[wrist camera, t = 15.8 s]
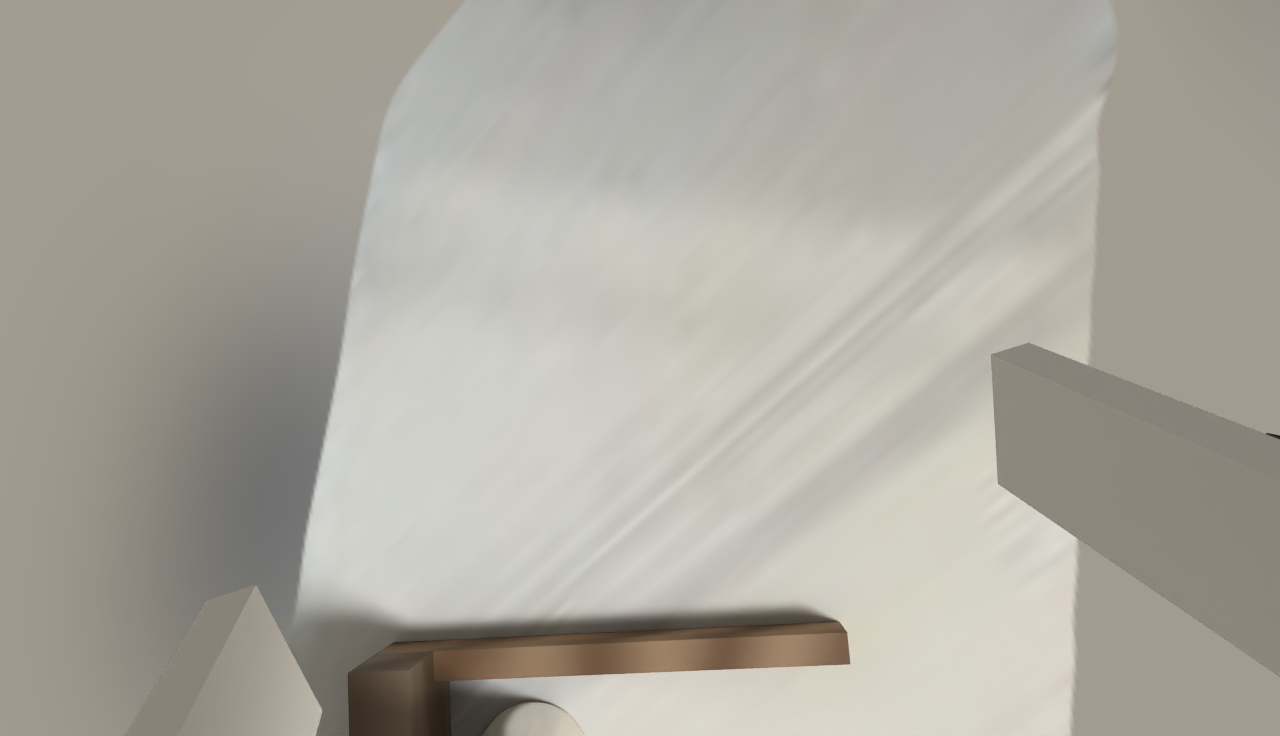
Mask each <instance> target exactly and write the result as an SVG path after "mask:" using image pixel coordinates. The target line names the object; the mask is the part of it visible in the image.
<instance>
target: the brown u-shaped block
mask: <svg viewBox="0 0 1280 736" xmlns="http://www.w3.org/2000/svg"><path fill="white" fill-rule="evenodd" d="M843 664H850V657H849V647H848V637H847V632H846V630H845V629H844V628H843V626H842V625H841V623H840V622H823V623H802V624H780V625H759V626H737V627H716V628H694V629H673V630H651V631H630V632H608V633H587V634H565V635H544V636H522V637H501V638H479V639H457V640H436V641H414V642H394V643H393V644H391V645H390V646H388V647H387V648H385V649H384V650H382V651H381V652H379V653H378V654H376V655H375V656H373V657H372V658H370V659H369V660H367V661H366V662H364V663H363V664H361V665H359V666H358V667H356V668H355V669H353V670H352V671H350V672H349V673H348V697H349V736H451V723H450V697H449V681H455V680H480V679H504V678H528V677H552V676H576V675H601V674H625V673H649V672H673V671H698V670H722V669H746V668H770V667H794V666H819V665H843Z"/></svg>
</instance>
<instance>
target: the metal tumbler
mask: <svg viewBox="0 0 1280 736" xmlns="http://www.w3.org/2000/svg"><path fill="white" fill-rule="evenodd" d="M483 736H585V735H584V733H583V731H582V729H581V728H580V726H579V725H578V724H577V723H576V721H575V720H574V719H573V718H572V717H571V716H570V715H568V714H567V713H566V712H565V711H563V710H562V709H560V708H558V707H556V706H553V705H551V704H547V703H543V702H525V703H520V704H517V705H514V706H512V707H510V708H508V709H506V710H505V711H503V712H502V713H501V714H499V715H498V716H497V717H496V718H495V719H494V720H493V721H492V722H491V724H490V725H489V727H488V728H487V730H486V731H485V733H484V735H483Z"/></svg>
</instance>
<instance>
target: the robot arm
mask: <svg viewBox="0 0 1280 736" xmlns="http://www.w3.org/2000/svg"><path fill="white" fill-rule="evenodd" d="M991 364H992V382H993V401H994V419H995V438H996V456H997V475H998V484H999V485H1000V486H1002V487H1003V488H1005V489H1006V490H1008V491H1009V492H1011V493H1012V494H1014V495H1015V496H1017V497H1018V498H1019V499H1021V500H1022V501H1024V502H1025V503H1027V504H1028V505H1030V506H1031V507H1033V508H1034V509H1035V510H1037V511H1038V512H1040V513H1041V514H1043V515H1044V516H1046V517H1047V518H1049V519H1050V520H1052V521H1053V522H1054V523H1056V524H1057V525H1059V526H1060V527H1062V528H1063V529H1065V530H1066V531H1068V532H1069V533H1071V534H1072V535H1073V536H1075V537H1076V538H1078V539H1079V540H1081V541H1082V542H1084V543H1085V544H1087V545H1088V546H1090V547H1091V548H1092V549H1094V550H1095V551H1097V552H1098V553H1100V554H1101V555H1103V556H1104V557H1106V558H1107V559H1108V560H1110V561H1111V562H1113V563H1114V564H1116V565H1117V566H1119V567H1120V568H1122V569H1123V570H1125V571H1126V572H1127V573H1129V574H1130V575H1132V576H1133V577H1135V578H1136V579H1138V580H1139V581H1141V582H1142V583H1144V584H1145V585H1146V586H1148V587H1149V588H1151V589H1153V590H1154V591H1155V592H1157V593H1158V594H1160V595H1161V596H1163V597H1164V598H1166V599H1167V600H1168V601H1170V602H1171V603H1173V604H1174V605H1176V606H1177V607H1179V608H1180V609H1182V610H1183V611H1184V612H1186V613H1187V614H1189V615H1190V616H1192V617H1193V618H1195V619H1196V620H1198V621H1199V622H1201V623H1202V624H1203V625H1205V626H1206V627H1208V628H1209V629H1211V630H1212V631H1214V632H1215V633H1217V634H1218V635H1219V636H1221V637H1222V638H1224V639H1225V640H1227V641H1228V642H1230V643H1231V644H1233V645H1234V646H1236V647H1237V648H1239V649H1240V650H1241V651H1243V652H1245V653H1246V654H1247V655H1249V656H1250V657H1252V658H1253V659H1255V660H1256V661H1257V662H1259V663H1260V664H1262V665H1263V666H1265V667H1266V668H1268V669H1269V670H1271V671H1272V672H1274V673H1275V674H1276V675H1278V676H1279V677H1280V436H1279V435H1274V434H1269V433H1267V434H1264V433H1262V432H1259V431H1256V430H1254V429H1251V428H1249V427H1246V426H1243V425H1241V424H1238V423H1236V422H1233V421H1230V420H1227V419H1225V418H1223V417H1220V416H1217V415H1215V414H1212V413H1210V412H1207V411H1204V410H1202V409H1199V408H1197V407H1194V406H1191V405H1189V404H1186V403H1184V402H1181V401H1178V400H1176V399H1173V398H1171V397H1168V396H1165V395H1163V394H1160V393H1158V392H1155V391H1152V390H1150V389H1147V388H1145V387H1142V386H1139V385H1137V384H1134V383H1132V382H1129V381H1126V380H1124V379H1121V378H1119V377H1116V376H1113V375H1111V374H1108V373H1106V372H1103V371H1100V370H1098V369H1095V368H1093V367H1090V366H1087V365H1085V364H1082V363H1080V362H1077V361H1075V360H1072V359H1069V358H1067V357H1064V356H1062V355H1059V354H1056V353H1054V352H1051V351H1049V350H1046V349H1043V348H1041V347H1038V346H1036V345H1033V344H1030V343H1027V344H1023V345H1020V346H1017V347H1014V348H1011V349H1007V350H1004V351H1001V352H998V353H995V354H991ZM322 712H323V711H322V709H321V707H320V705H319V703H318V701H317V699H316V697H315V696H314V694H313V692H312V690H311V688H310V686H309V684H308V682H307V680H306V679H305V677H304V675H303V673H302V671H301V669H300V667H299V665H298V663H297V662H296V660H295V658H294V656H293V654H292V652H291V650H290V648H289V646H288V645H287V643H286V641H285V639H284V637H283V635H282V633H281V631H280V630H279V628H278V626H277V624H276V622H275V620H274V618H273V616H272V614H271V612H270V611H269V609H268V607H267V605H266V603H265V601H264V599H263V597H262V595H261V594H260V592H259V590H258V588H257V586H256V585H253V586H250V587H247V588H244V589H240V590H237V591H234V592H231V593H228V594H225V595H221V596H218V597H215V598H212V599H209V600H206V602H205V604H204V605H203V607H202V609H201V611H200V612H199V614H198V615H197V617H196V619H195V620H194V622H193V624H192V626H191V627H190V628H189V630H188V632H187V633H186V635H185V637H184V638H183V640H182V642H181V643H180V645H179V647H178V648H177V650H176V652H175V653H174V655H173V657H172V658H171V660H170V662H169V663H168V665H167V666H166V668H165V670H164V671H163V673H162V675H161V676H160V678H159V680H158V681H157V683H156V685H155V686H154V688H153V690H152V691H151V693H150V695H149V696H148V698H147V700H146V701H145V703H144V704H143V706H142V708H141V709H140V711H139V713H138V714H137V716H136V718H135V719H134V721H133V723H132V724H131V726H130V728H129V729H128V731H127V732H126V734H125V736H316V733H317V729H318V726H319V722H320V719H321V715H322Z"/></svg>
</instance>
